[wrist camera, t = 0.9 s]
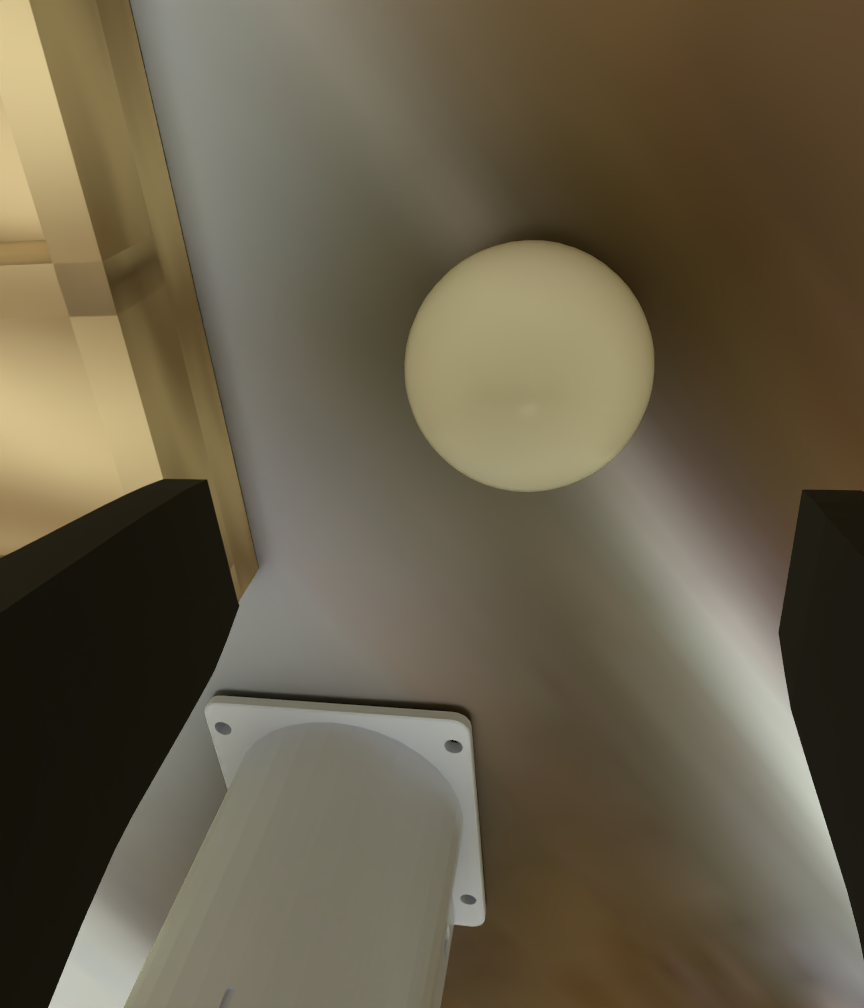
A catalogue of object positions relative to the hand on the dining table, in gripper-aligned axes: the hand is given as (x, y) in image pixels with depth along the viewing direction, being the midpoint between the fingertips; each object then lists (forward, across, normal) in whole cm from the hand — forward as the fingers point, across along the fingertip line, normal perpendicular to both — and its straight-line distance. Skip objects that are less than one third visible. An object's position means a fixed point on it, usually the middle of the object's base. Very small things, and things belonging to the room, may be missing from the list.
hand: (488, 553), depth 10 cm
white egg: (+8, 0, 0) cm, 9 cm away
